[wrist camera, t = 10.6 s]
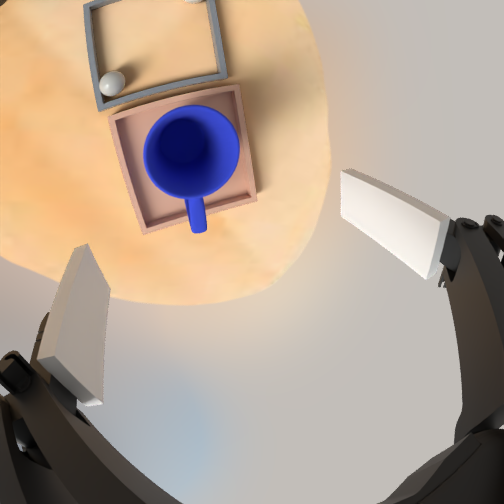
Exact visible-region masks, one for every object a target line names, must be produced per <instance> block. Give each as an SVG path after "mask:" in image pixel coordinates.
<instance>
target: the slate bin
mask: <svg viewBox="0 0 504 504" xmlns="http://www.w3.org/2000/svg"><path fill="white" fill-rule="evenodd" d="M117 1H121V0H94V1H92V2H89V3H86V4H84V5H83V8H84V22H85V33H86V42H87V50H88V58H89V64H90V71H91V77H92V82H93V88H94V93H95V98H96V103H97V108H98V112H101V111H104V110H107V109H110V108H112V107H115V106H118V105H121V104H124V103H127V102H130V101H133V100H136V99H140V98H143V97H146V96H150V95H153V94H157V93H161V92H165V91H168V90H173V89H177V88H181V87H186V86H190V85H195V84H200V83H205V82H211V81H217V80H223V79H227V78H228V75H227V69H226V63H225V57H224V51H223V45H222V40H221V34H220V28H219V22H218V17H217V11H216V5H215V0H206V5H207V11H208V17H209V23H210V29H211V34H212V40H213V46H214V52H215V57H216V63H217V69H218V74H214V75H208V76H202V77H197V78H192V79H187V80H182V81H178V82H174V83H169V84H165V85H161V86H158V87H154V88H150V89H147V90H143V91H140V92H137V93H133V94H130V95H127V96H124V97H121V98H118V99H115V100H112V101H110V102H107V103H105V101H104V96H103V93H102V92H101V91H100V88H99V83H100V75H99V69H98V63H97V56H96V49H95V41H94V32H93V23H92V10H94V9H96V8H99V7H102V6H105V5H108V4H111V3H114V2H117Z"/></svg>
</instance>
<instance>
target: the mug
mask: <svg viewBox="0 0 504 504" xmlns="http://www.w3.org/2000/svg"><path fill="white" fill-rule="evenodd" d="M239 155H240V143H239V138H238V135H237V132H236V130H235V128H234V126H233V125H232V123H231V122H230V121H229V119H228V118H227V117H226V116H224V115H223V114H222V113H220V112H219V111H217V110H215V109H213V108H210V107H207V106H203V105H186V106H181V107H178V108H175V109H173V110H171V111H169V112H167V113H166V114H164V115H163V116H162V117H160V118H159V119H158V120H157V121H156V122H155V124H154V125H153V126H152V128H151V129H150V131H149V133H148V135H147V137H146V140H145V143H144V148H143V161H144V166H145V169H146V172H147V174H148V176H149V178H150V179H151V181H152V182H153V183H154V185H155V186H156V187H157V188H159V189H160V190H161V191H163V192H164V193H166V194H168V195H170V196H173V197H176V198H180V199H184V201H185V206H186V210H187V215H188V219H189V222H190V226H191V230H192V232H193V233H202V232H205V231H206V230H207V221H206V211H205V205H204V199H203V197H205V196H208V195H210V194H212V193H214V192H216V191H217V190H219V189H220V188H221V187H222V186H224V185H225V184H226V183H227V181H228V180H229V179H230V178H231V176H232V175H233V173H234V171H235V169H236V167H237V164H238V161H239Z"/></svg>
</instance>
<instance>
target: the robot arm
mask: <svg viewBox="0 0 504 504" xmlns="http://www.w3.org/2000/svg"><path fill="white" fill-rule="evenodd" d="M5 1H6V0H0V6H1V5H2V4H3V3H4V2H5ZM341 217H342V218H344V219H345V220H347V221H348V222H350V223H351V224H353V225H354V226H355V227H357V228H358V229H360V230H361V231H362V232H364V233H365V234H367V235H368V236H369V237H371V238H372V239H374V240H375V241H376V242H378V243H379V244H381V245H382V246H383V247H384V248H386V249H387V250H389V251H390V252H391V253H392V254H394V255H395V256H396V257H398V258H399V259H400V260H402V261H403V262H404V263H405V264H407V265H408V266H409V267H410V268H412V269H413V270H414V271H415V272H417V273H418V274H419V275H420V276H422V277H423V278H424V279H425V280H427V279H428V278H430V277H432V276H433V275H435V274H436V272H437V269H438V265H439V262H441V263H442V264H443V265H444V268H443V271H442V274H441V277H440V281H439V283H438V287H441V284H442V282H444V281H445V283H444V286H443V287H445V288H447V292H448V296H449V301H450V305H451V310H452V315H453V320H454V326H455V331H456V338H457V344H458V351H459V359H460V370H461V382H462V402H463V406H462V412H461V415H460V417H459V419H458V421H457V424H456V428H455V438H454V445H452V446H451V447H449V448H448V449H446V450H445V451H443V452H441V453H440V454H438V455H436V456H435V457H433V458H431V459H430V460H429V461H428V462H426V463H425V464H424V465H423V466H421V467H420V468H419V469H418V470H416V471H415V472H414V473H412V474H411V475H410V476H408V477H407V478H406V479H405V481H404V482H403V483H402V484H401V485H400V486H399V487H398V488H397V489H396V490H395V491H394V492H393V493H392V494H391V495H390V496H389V497H388V498H387V499H386V500H385V501H383V502H380V503H378V504H504V429H499V428H500V427H501V426H502V425H504V255H503V258H502V260H501V262H500V260H499V258H498V256H499V253H500V250H502V251H503V252H504V221H503V220H502V219H501V218H499V217H498V216H495V215H487V216H486V217H485V220H484V224H483V225H482V226H479V224H478V223H477V222H475V221H473V220H471V219H467V218H458V219H457V220H456V221H453V220H451V219H450V217H449V216H447V215H445V214H443V213H442V212H440V211H438V210H436V209H434V208H433V207H431V206H429V205H427V204H425V203H423V202H422V201H420V200H418V199H416V198H414V197H412V196H410V195H408V194H406V193H404V192H402V191H400V190H398V189H396V188H394V187H392V186H389V185H387V184H385V183H383V182H381V181H379V180H377V179H374V178H372V177H370V176H368V175H365V174H363V173H361V172H358V171H356V170H354V169H347V170H342V171H341ZM109 297H110V287H109V285H108V283H107V282H106V280H105V278H104V276H103V274H102V272H101V270H100V268H99V266H98V264H97V262H96V260H95V258H94V256H93V254H92V252H91V250H90V247H89V245H88V243H87V244H85V245H82V246H80V247H77V248H75V249H74V251H73V253H72V255H71V258H70V260H69V262H68V265H67V267H66V270H65V272H64V275H63V277H62V280H61V282H60V285H59V287H58V290H57V293H56V296H55V299H54V301H53V304H52V307H51V310H50V312H48V313H47V314H46V316H45V317H44V319H43V320H42V322H41V325H40V328H39V331H38V333H39V334H38V335H37V338H36V342H35V345H34V349H33V352H32V356H31V360H30V364H29V363H28V362H27V361H26V360H25V359H24V358H23V357H22V356H21V355H20V354H19V352H18V351H11V352H8V353H7V354H6V355H5V356H4V357H3V358H2V359H1V360H0V384H1V385H2V386H3V387H4V388H5V389H6V390H8V391H9V392H10V393H9V394H8V395H6V396H4V397H3V396H2V395H1V394H0V504H182V503H181V502H179V501H178V500H176V499H175V498H174V497H172V496H170V495H169V494H168V493H167V492H165V491H164V490H163V489H161V488H160V487H159V486H157V485H156V484H155V483H153V482H152V481H151V480H150V479H149V478H147V477H146V476H145V475H144V474H143V473H141V472H140V471H139V470H138V469H137V468H135V467H134V466H133V465H132V464H131V463H130V462H129V461H128V460H127V459H126V458H124V457H123V456H122V455H121V454H120V453H119V452H118V451H117V450H116V449H115V448H114V447H113V446H112V445H111V444H110V443H109V442H108V441H107V440H106V439H105V438H104V437H103V435H102V434H101V433H100V432H99V431H98V430H97V429H96V428H95V427H94V426H93V425H92V423H91V422H90V421H89V420H88V419H87V418H86V416H85V415H84V414H83V413H82V412H81V411H80V410H79V409H77V408H76V406H77V399H78V400H79V401H80V402H82V403H83V404H84V405H85V406H94V405H99V404H103V373H104V349H105V334H106V323H107V313H108V305H109ZM17 443H18V444H20V445H22V449H23V452H22V451H20V450H19V447H18V445H17Z"/></svg>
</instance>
